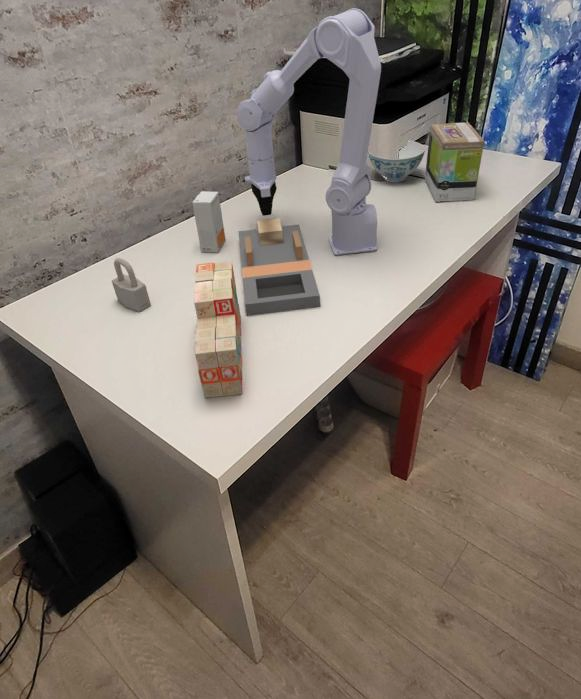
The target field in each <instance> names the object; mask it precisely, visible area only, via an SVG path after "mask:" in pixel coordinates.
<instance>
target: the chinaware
mask: <svg viewBox="0 0 581 699" xmlns="http://www.w3.org/2000/svg"><path fill="white" fill-rule="evenodd" d="M425 152H426V147H425V146H424V145H423V144H422V143H420V142H419V141H418V142H417V141H413V140H410V139H408V143H407V146H405V147H404V148H402V149H401V150H400V151H399V159H387V158H381V157H377V156H374V155H372V154H371V153H370V152H368V153H367V155H368V154H369V156H368V159H369V158H370V159H369V162H370V161H371V162H370V164H371V163H372V164H371V166H372V165H373V166H372V168H373V167H374V168H375V169H376V170H377V171H378V172H379V173H380V174H382V175H383V176H385V177H387V180H388V181H387V182H390V181H391V182H392V183H397V182H403V181H404V180H407V178H408V176H409V175H410V174H412V173H413V172H414V171H415V170H416V169H418V167H419V166H420V164H421V162H422V161H423V158H424V155H425ZM374 168H373V169H374ZM375 169H374V170H375ZM376 170H375V171H376ZM377 171H376V172H377ZM378 172H377V173H378ZM379 173H378V174H379ZM380 174H379V175H380ZM382 175H381V176H382Z"/></svg>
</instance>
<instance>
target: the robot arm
mask: <svg viewBox="0 0 581 699" xmlns="http://www.w3.org/2000/svg"><path fill="white" fill-rule="evenodd" d="M375 29H376V27H375V25H374V23H373V22H372V21H371V20H370V18H369V17H368V15H367V14H366V12H364V11H363V10H362V9H359V8H355V7H354V8H349V9H347V10H345V11H344V12H341V13H338V14H335V15H330V16H327V17H325V18H323V19H322V20H320V21H319V23H318V25H317V26H316V27H314V28H313V29H312V30H311V31H310V32H309V33H308V35H307V36H306V38H305V39H304V41H303V42H302V43H301V44H300V46H299V47H298V48H296V51H295V52H294V53H293V55H292V56H291V57H290V58H289V60H288V61H287V62H286V64H284V66H283V68H282V69H275V70H272V71H268V72H266V73H264V74H263V76H262V78H263V79H264V80H263V81H262V82H261V83H260V85H259V86H258V87H257V88H254V89H253V90H252V91H250V95H251V96H250V99H246V100H242V101H240V102H239V104H238V107H237V109H236V118H237V121H238V123H239V125H240V126H241V127H242V128H243V130H244V138H245V145H246V154H247V155H246V156H247V162H248V163H247V164H248V170H249V175H246V176H244V181H245V182H246V183H250V185H251V186H250V187H251V191H252V194H253V195H254V197H255V198H256V200H257V203H258V206H259V209H260V214H261V215H262V217H263V216H264V217H265V216H271V215H272V212H273V211H272V210H273V202H274V197H275V195H276V193H277V189H278V188H277V184H276V181H277V174H276V168H275V156H274V147H273V146H274V145H273V135H272V134H273V133H272V129H273V122H274V119H275V117H276V113H277V112H278V111H279V110H280V109H281V108H282V107H283V106H284V105H285V103H286V102H287V101H288V100H289V99H290V98H291V97H292V96H293V94H294V92H295V87H294V86H295V83H296V81H298V80H299V79H300V78H301V77H302V76H303V75H304V74H305V73H306V71H307V70H309V68H311V67H312V65H314V63H316V62H317V61H318V60H319V59H323V58H324V57H325V58H326V59H327V60H328V61H330V62H332V63H333V64H334V65H336V67H338V69H339V68H340V70H342V71H343V72H344V73H345V75H346V76H347V77H348V79H349V82H348V89H347V90H348V92H347V100H346V106H345V114H344V122H343V130H342V138H341V145H340V146H341V147H340V153H339V161H338V165H337V166H336V168H335V171H334V172H333V175H332V177H331V183H330V186H329V187H328V188H327V190H326V193H325V202H326V205H327V206H328V207H329V209H330V210H331V228H332V229H331V234H332V235H331V236H329V237H328V244H329V245H330V248H331V250H332V253H333V255H334V256H340V255H348V254H349V255H350V254H360V253H367V252H375V251H377V250H378V247H377V241H378V240H377V238H378V237H377V236H378V235H377V234H378V217H377V216H378V215H377V214H378V213H377V210H376V209H377V208H376V206H375V205H374V204H368V203H367V202H366V200H367V198H366V197H367V196H368V195H369V194H370V192H371V191H372V181H371V178H370V177H371V176H370V175H371V174H370V172H371V167H370V166H369V164H368V163H367V158H368V148H369V147H370V140H371V136H372V127H373V121H374V117H375V116H374V115H375V111H376V110H375V109H376V104H377V99H378V93H379V92H378V91H379V86H380V79H381V73H382V63H381V59H380V55H379V52H378V47H377V44H376V39H375Z"/></svg>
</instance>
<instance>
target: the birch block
mask: <svg viewBox="0 0 581 699" xmlns="http://www.w3.org/2000/svg"><path fill="white" fill-rule="evenodd" d="M256 222H257V229H258V232H259V239H260V245H270V244H278V243H283V234H282V227H281V226H282V224H281V220H280V217H279V218H270V219H261V220H257V221H256Z"/></svg>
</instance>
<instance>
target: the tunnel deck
mask: <svg viewBox="0 0 581 699" xmlns="http://www.w3.org/2000/svg"><path fill="white" fill-rule="evenodd" d="M281 227H282V234H283V243H278V244H270V245H260V239H259V232H258V228H256V229H246V230H240V231H238V242H239V250H240V251H239V254H240V263H241V273H242V276H241V277H242V286H243V296H244V307H245V313H246V314H245V315H246V316H254V315H262V314H263V315H264V314H270V313H277V312H286V311H287V312H288V311H295V310H302V309H303V310H304V309H311V308H318V307H321V298H320V297H321V295H320V292H319V288H318V284H317V282H316V278H315V274H314V270H313V267H312V265H311V262H310V258H309V254H308V250H307V247H306V243H305V240H304V238H303V234H302V230H301V227H300V224H291V225H281Z"/></svg>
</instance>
